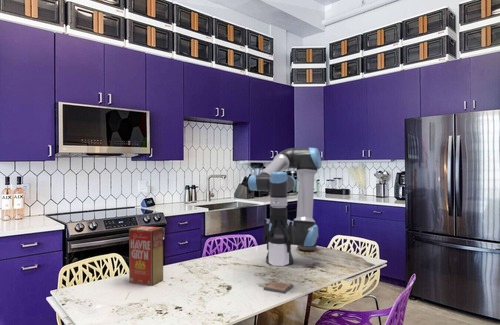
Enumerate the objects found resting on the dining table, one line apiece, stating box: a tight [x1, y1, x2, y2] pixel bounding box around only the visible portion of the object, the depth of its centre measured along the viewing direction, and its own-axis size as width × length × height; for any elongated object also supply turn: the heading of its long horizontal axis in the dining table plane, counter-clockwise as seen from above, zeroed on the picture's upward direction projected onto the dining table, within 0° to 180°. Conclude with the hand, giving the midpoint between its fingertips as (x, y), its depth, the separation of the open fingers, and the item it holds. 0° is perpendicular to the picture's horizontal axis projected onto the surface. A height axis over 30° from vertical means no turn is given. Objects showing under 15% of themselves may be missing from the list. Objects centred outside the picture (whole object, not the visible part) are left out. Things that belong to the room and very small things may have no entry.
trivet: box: [263, 281, 294, 294], centre depth 158 cm, size 10×10×1 cm
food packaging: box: [128, 225, 164, 287], centre depth 167 cm, size 13×9×25 cm
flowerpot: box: [297, 221, 319, 252], centre depth 228 cm, size 14×15×20 cm
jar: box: [269, 235, 289, 267], centre depth 158 cm, size 9×8×12 cm
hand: (278, 258), depth 158 cm, fingers closed on jar, 7 cm apart
